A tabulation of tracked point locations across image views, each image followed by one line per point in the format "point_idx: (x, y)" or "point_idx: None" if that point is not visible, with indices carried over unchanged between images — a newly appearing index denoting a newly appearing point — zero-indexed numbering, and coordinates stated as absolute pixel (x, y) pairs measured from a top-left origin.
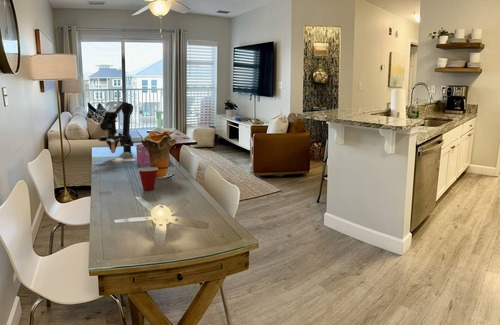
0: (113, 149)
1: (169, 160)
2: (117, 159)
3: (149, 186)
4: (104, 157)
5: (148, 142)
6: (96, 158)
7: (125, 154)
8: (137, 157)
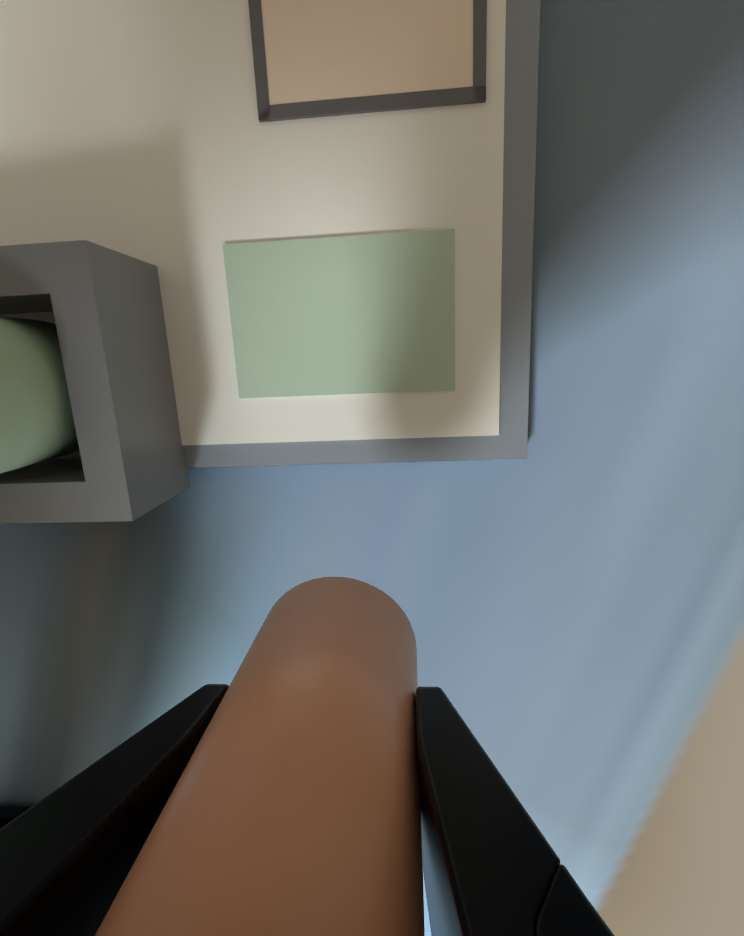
0: (327, 636)
1: None
2: (344, 268)
3: None
4: None
5: None
6: (665, 768)
7: (32, 342)
8: None
